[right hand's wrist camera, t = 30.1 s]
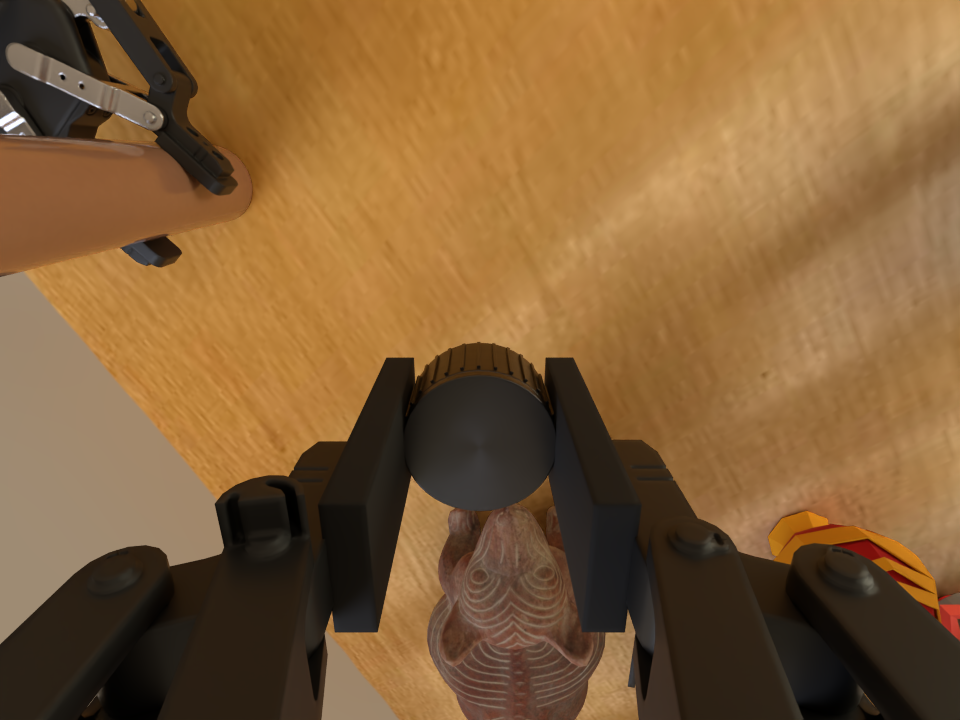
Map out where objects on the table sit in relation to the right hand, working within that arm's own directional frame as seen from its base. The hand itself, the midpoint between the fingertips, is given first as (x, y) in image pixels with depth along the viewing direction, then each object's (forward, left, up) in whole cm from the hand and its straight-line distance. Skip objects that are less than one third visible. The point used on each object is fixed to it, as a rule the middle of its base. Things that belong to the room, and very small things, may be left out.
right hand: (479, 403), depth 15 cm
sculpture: (-22, +12, -23) cm, 34 cm away
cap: (0, 0, +2) cm, 2 cm away
